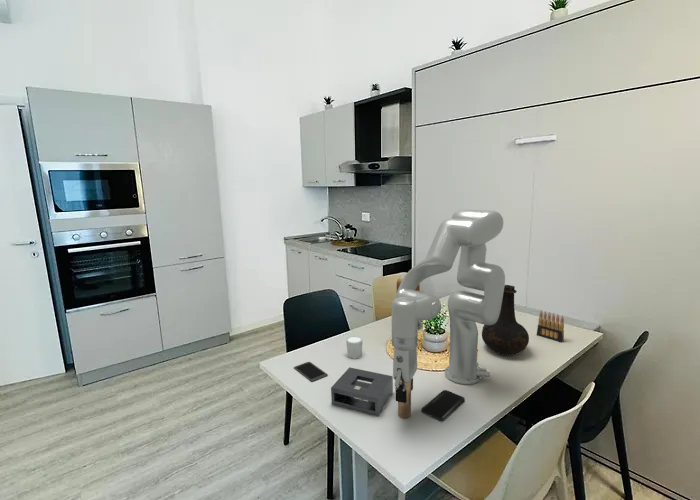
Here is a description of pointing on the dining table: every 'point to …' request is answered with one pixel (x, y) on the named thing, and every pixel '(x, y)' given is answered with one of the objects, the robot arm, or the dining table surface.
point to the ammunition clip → (551, 327)
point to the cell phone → (310, 371)
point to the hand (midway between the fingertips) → (404, 394)
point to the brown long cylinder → (405, 408)
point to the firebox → (362, 391)
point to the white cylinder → (354, 347)
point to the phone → (443, 405)
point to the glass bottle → (506, 328)
